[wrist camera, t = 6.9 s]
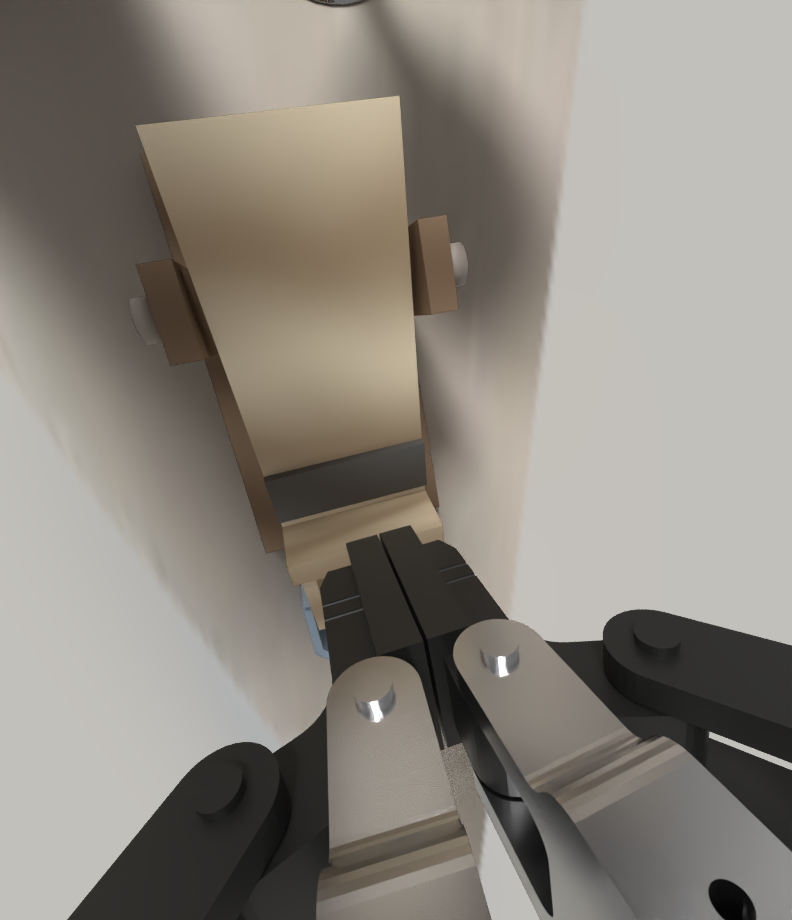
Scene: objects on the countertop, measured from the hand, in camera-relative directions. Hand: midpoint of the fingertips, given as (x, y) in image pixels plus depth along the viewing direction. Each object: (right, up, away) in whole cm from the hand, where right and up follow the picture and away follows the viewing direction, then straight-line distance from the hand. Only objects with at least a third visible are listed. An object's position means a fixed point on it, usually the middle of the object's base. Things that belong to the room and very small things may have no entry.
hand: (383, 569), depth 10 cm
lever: (-2, +4, +6) cm, 7 cm away
